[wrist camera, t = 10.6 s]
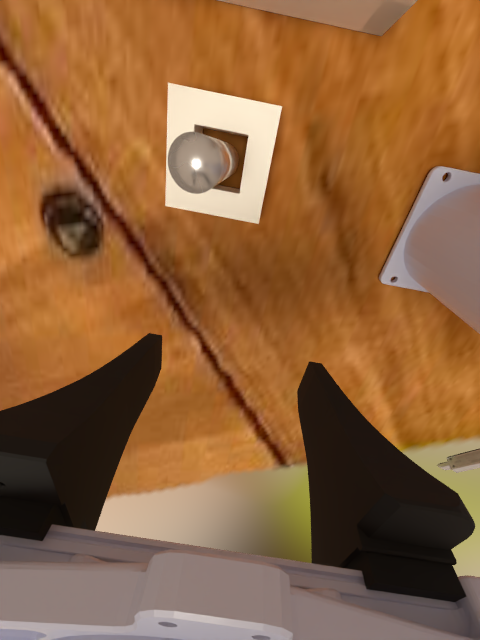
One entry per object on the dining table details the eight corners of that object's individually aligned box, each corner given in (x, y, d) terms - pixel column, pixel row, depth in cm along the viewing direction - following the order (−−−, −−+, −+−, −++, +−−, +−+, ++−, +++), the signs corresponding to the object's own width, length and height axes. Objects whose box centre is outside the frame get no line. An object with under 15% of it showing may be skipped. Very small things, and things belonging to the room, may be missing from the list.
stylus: (241, 145, 17) (224, 138, 10) (236, 180, 18) (217, 198, 11) (210, 139, 17) (168, 125, 9) (206, 174, 18) (166, 187, 11)
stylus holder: (279, 112, 16) (282, 106, 14) (258, 216, 19) (258, 223, 17) (180, 92, 16) (168, 82, 14) (176, 200, 19) (165, 205, 17)
